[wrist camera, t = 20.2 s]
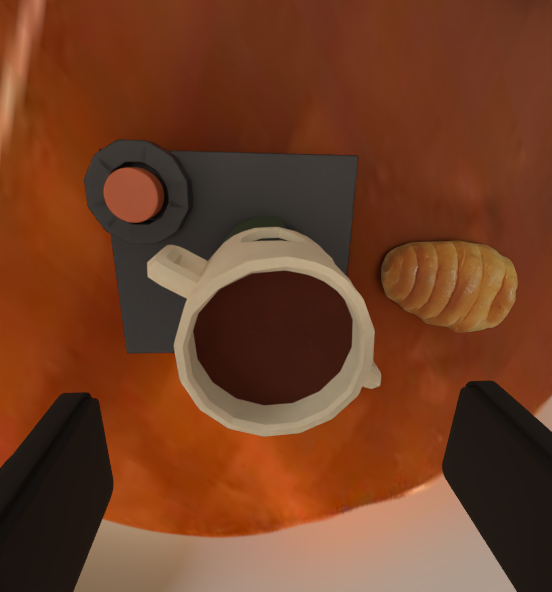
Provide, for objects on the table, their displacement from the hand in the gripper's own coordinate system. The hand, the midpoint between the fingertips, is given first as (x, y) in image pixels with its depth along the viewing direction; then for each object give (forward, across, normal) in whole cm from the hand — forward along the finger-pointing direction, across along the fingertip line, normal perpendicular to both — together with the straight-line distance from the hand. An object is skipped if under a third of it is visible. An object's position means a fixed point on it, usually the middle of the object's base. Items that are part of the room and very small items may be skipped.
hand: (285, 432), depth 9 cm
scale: (+18, +2, 0) cm, 18 cm away
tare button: (+15, +7, -5) cm, 18 cm away
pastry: (+18, -14, +2) cm, 23 cm away
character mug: (+16, 0, 0) cm, 17 cm away
